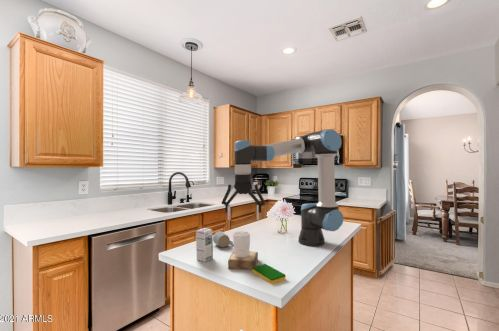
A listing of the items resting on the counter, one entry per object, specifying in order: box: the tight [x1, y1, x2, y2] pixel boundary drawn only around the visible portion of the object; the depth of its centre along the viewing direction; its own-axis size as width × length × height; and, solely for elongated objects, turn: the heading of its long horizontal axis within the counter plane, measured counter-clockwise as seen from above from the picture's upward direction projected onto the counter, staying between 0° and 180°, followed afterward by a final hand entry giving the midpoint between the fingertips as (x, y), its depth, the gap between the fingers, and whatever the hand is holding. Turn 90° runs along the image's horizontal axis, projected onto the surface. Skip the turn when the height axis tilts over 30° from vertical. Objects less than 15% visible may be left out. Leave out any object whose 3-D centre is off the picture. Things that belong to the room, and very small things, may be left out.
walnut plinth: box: [227, 250, 259, 271], centre depth 114 cm, size 12×12×4 cm
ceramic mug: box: [212, 230, 234, 248], centre depth 142 cm, size 11×8×8 cm
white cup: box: [232, 231, 251, 258], centre depth 114 cm, size 8×8×10 cm
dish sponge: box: [251, 263, 286, 285], centre depth 102 cm, size 7×14×2 cm, turn 33°
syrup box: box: [195, 227, 214, 263], centre depth 121 cm, size 6×6×14 cm
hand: (243, 219), depth 115 cm, fingers open, 13 cm apart
